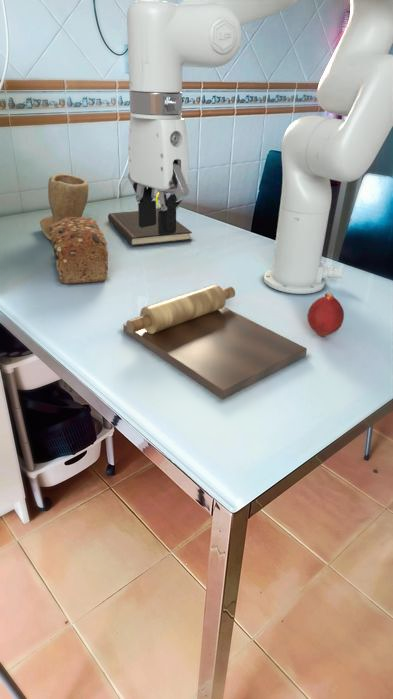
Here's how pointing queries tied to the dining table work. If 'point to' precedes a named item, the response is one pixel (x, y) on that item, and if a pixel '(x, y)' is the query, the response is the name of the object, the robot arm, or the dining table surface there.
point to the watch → (157, 200)
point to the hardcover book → (145, 230)
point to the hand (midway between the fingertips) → (157, 228)
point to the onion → (325, 315)
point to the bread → (79, 250)
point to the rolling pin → (180, 309)
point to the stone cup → (64, 199)
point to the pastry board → (222, 350)
